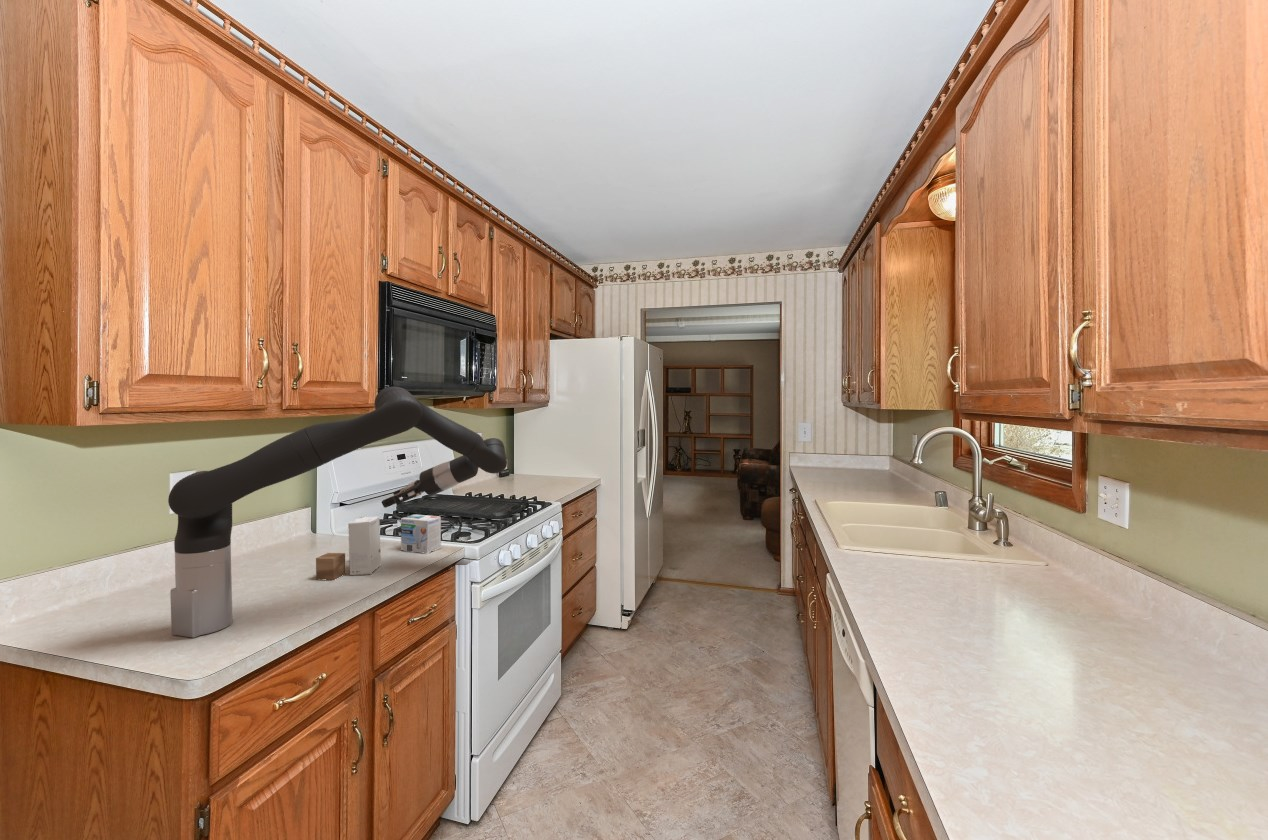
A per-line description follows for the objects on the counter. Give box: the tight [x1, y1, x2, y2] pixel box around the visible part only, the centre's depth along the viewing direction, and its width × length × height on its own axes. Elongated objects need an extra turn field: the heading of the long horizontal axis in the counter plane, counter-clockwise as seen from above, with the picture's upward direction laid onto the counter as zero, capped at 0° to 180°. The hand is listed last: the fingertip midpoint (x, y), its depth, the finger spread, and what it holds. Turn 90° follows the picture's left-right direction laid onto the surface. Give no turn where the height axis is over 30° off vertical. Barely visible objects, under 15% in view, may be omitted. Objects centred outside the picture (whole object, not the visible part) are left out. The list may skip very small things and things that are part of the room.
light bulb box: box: [400, 513, 442, 553], centre depth 169 cm, size 11×7×11 cm, turn 73°
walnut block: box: [315, 552, 346, 581], centre depth 143 cm, size 5×5×6 cm
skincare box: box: [347, 516, 382, 576], centre depth 149 cm, size 8×6×15 cm
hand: (389, 499), depth 151 cm, fingers open, 8 cm apart
